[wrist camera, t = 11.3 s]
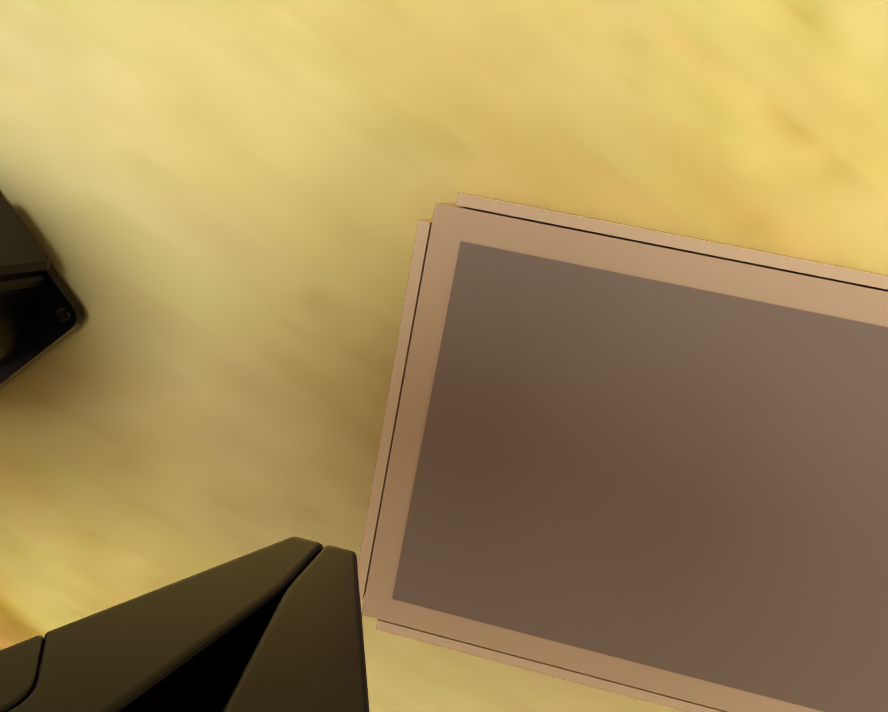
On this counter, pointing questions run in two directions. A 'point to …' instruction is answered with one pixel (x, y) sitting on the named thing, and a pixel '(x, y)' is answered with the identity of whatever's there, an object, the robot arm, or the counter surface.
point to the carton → (637, 463)
